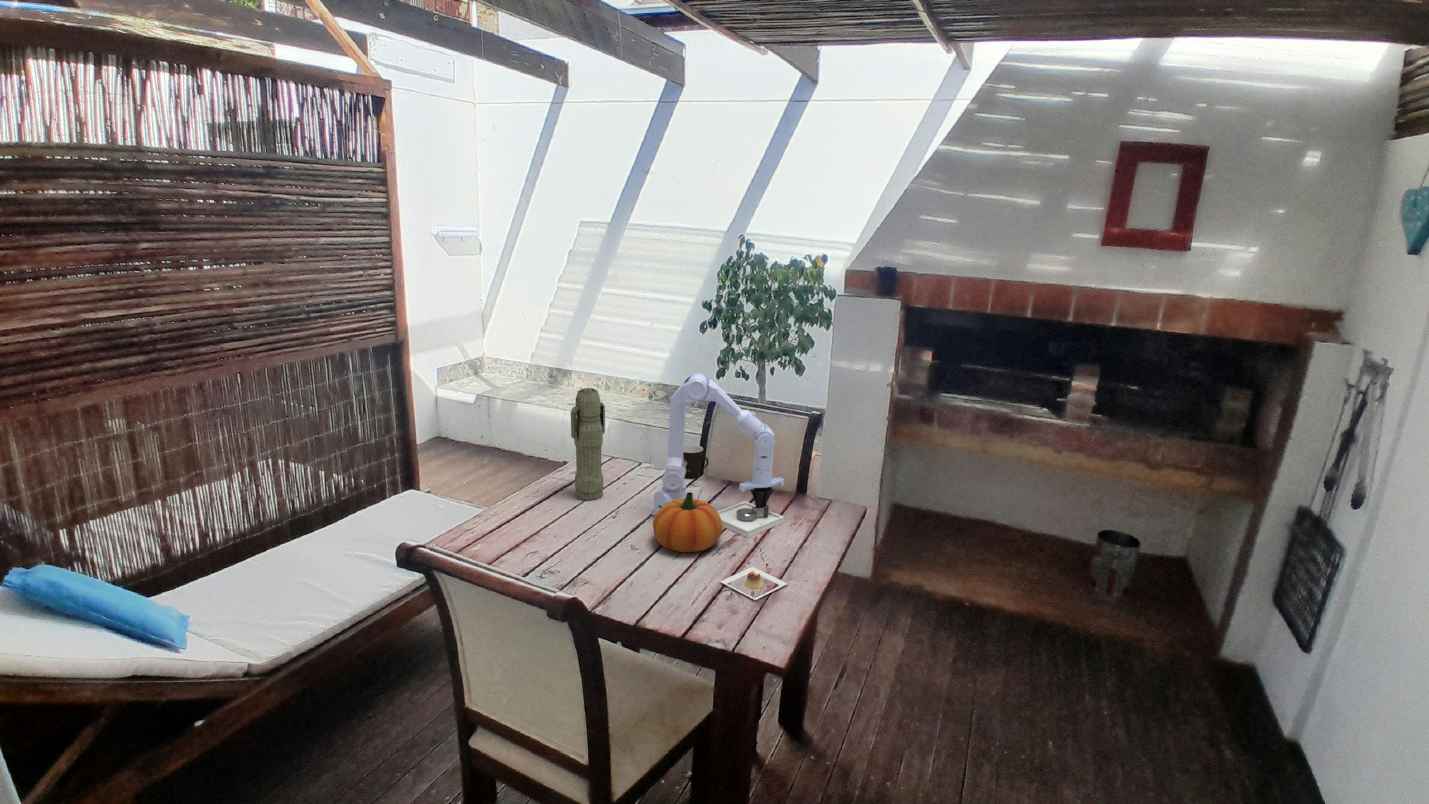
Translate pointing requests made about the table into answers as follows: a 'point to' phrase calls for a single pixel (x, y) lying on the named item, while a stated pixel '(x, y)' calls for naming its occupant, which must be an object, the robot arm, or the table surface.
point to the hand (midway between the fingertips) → (760, 510)
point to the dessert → (754, 580)
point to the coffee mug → (693, 461)
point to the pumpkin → (687, 525)
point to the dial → (752, 513)
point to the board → (750, 526)
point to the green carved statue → (588, 443)
